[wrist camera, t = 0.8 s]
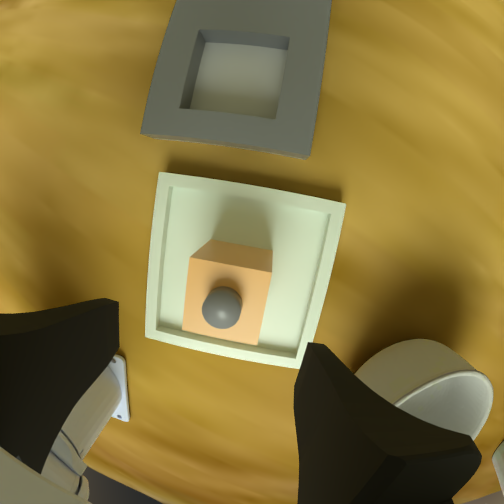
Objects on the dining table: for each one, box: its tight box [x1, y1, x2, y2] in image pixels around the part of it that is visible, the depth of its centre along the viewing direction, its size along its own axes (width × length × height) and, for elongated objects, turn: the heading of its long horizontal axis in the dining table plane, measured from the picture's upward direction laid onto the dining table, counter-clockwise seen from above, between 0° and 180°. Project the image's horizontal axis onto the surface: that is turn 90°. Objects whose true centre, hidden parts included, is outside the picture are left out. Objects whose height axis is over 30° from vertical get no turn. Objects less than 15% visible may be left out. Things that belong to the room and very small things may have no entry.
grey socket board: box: [140, 0, 332, 160], centre depth 15 cm, size 10×20×2 cm, turn 170°
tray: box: [145, 172, 346, 369], centre depth 19 cm, size 12×12×1 cm
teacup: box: [354, 339, 493, 440], centre depth 17 cm, size 14×11×8 cm
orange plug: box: [182, 239, 273, 345], centre depth 17 cm, size 4×4×6 cm
